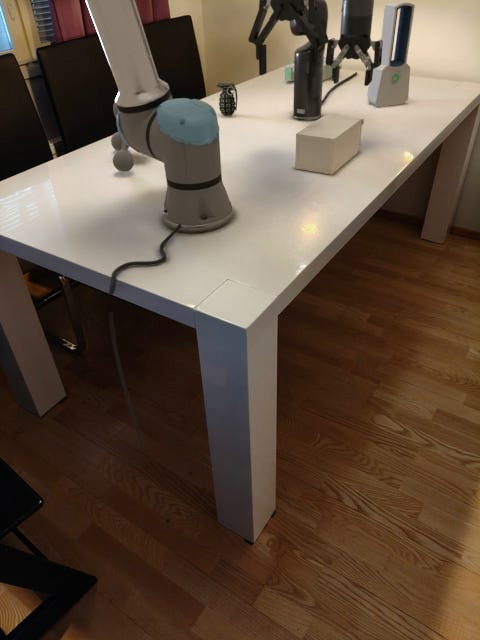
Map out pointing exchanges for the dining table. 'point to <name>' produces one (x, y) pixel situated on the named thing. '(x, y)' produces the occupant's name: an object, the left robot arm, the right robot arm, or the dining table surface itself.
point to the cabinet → (327, 144)
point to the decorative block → (326, 71)
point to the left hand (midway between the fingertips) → (287, 75)
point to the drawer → (361, 129)
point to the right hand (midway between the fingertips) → (351, 84)
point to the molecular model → (121, 150)
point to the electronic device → (394, 74)
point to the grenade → (227, 99)
